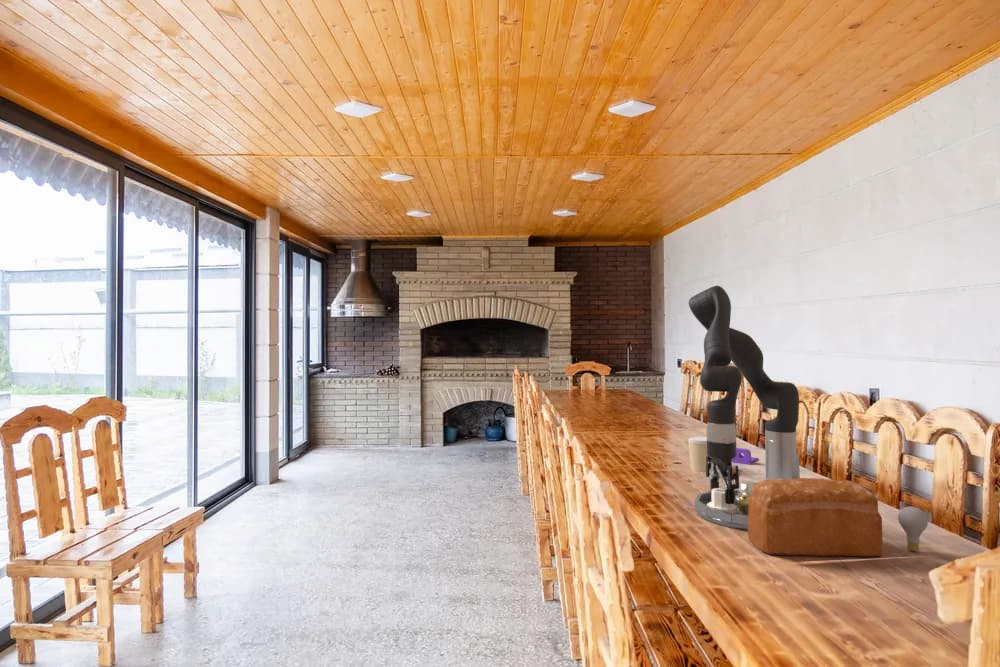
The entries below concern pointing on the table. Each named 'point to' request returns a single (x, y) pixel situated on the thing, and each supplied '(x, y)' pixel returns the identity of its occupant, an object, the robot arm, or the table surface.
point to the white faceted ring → (721, 501)
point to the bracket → (743, 457)
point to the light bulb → (913, 525)
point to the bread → (814, 518)
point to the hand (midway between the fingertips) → (722, 499)
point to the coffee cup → (698, 453)
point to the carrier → (725, 518)
